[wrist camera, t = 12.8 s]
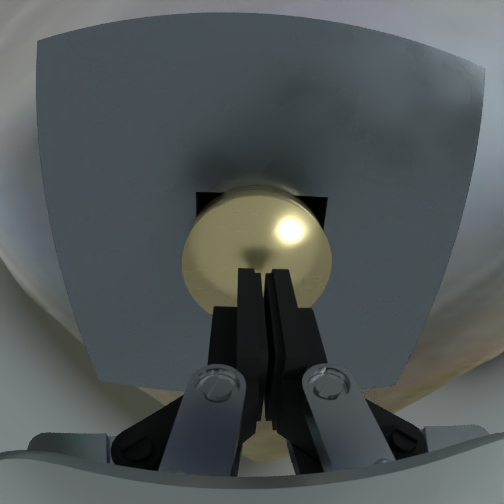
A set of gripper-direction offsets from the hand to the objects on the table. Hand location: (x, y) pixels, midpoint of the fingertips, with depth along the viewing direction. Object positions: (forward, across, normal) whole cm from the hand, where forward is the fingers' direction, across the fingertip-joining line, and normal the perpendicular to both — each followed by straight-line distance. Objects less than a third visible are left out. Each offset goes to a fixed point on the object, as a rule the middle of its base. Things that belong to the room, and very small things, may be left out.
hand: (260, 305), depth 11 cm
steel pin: (+12, 0, 0) cm, 12 cm away
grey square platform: (+12, 0, 0) cm, 12 cm away
